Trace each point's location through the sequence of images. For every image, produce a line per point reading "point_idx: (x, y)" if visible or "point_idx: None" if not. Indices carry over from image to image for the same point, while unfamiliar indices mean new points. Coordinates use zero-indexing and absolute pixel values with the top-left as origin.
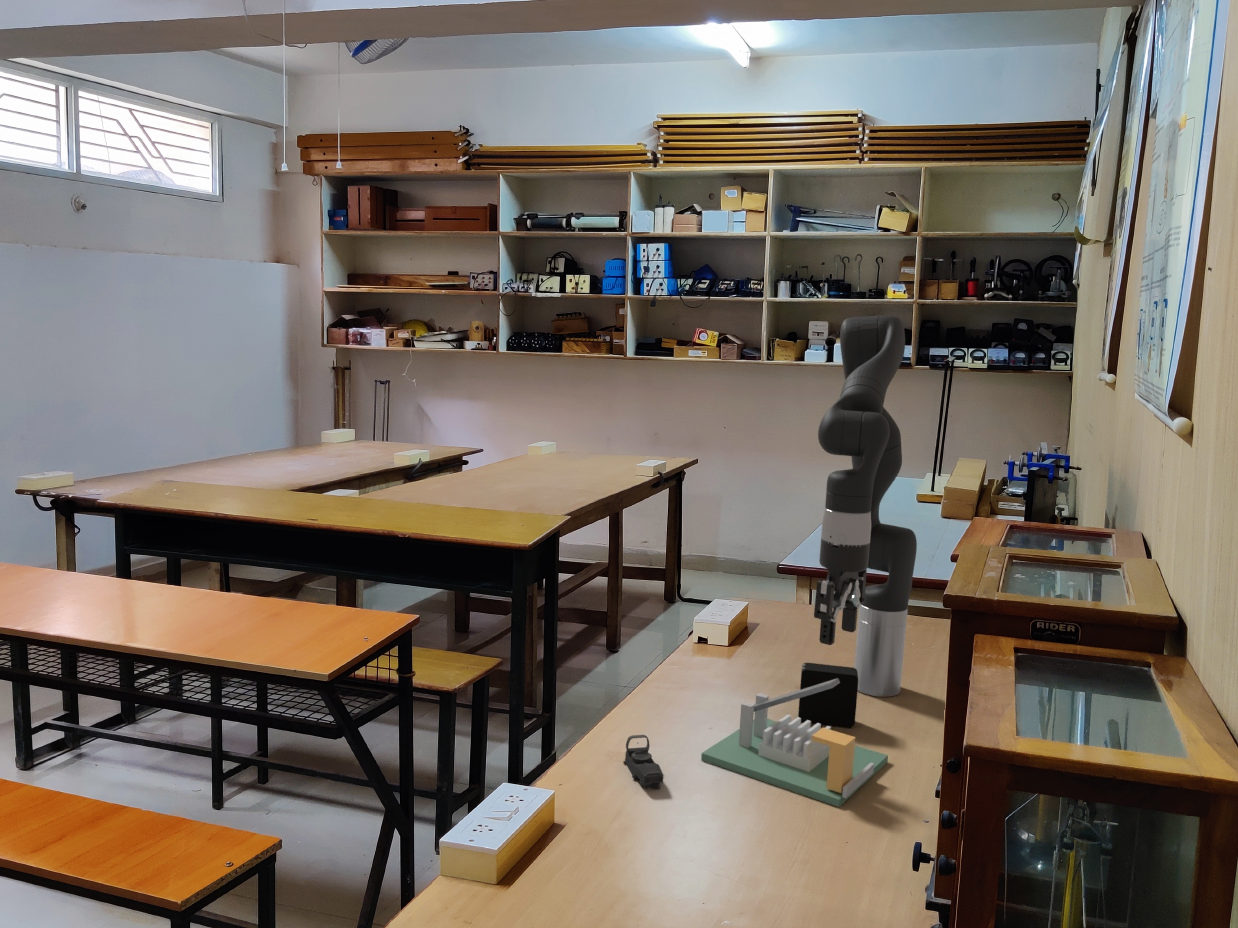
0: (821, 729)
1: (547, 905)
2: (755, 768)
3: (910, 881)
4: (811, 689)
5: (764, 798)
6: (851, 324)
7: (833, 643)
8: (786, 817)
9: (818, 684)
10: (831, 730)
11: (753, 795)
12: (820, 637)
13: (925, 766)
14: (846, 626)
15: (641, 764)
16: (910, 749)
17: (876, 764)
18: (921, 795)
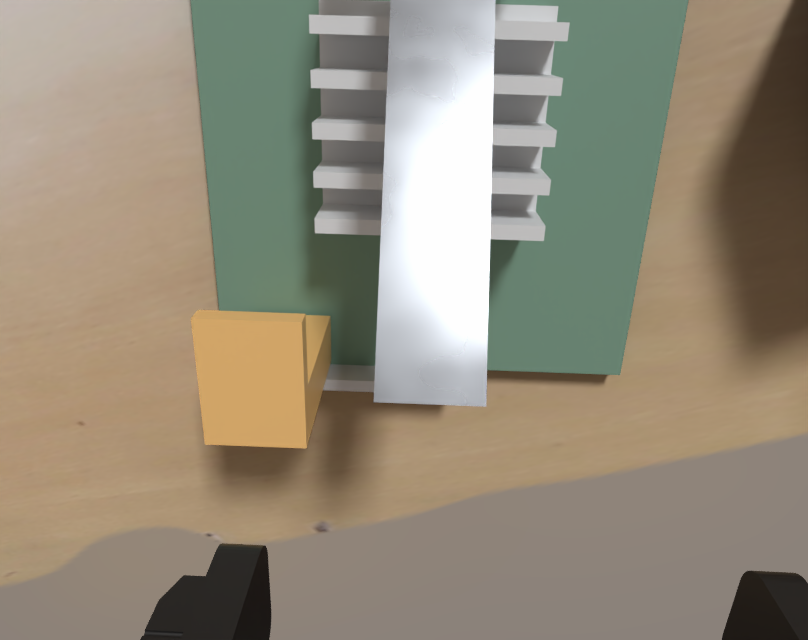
0: (277, 326)
1: None
2: (216, 49)
3: (47, 564)
4: (380, 268)
5: (108, 154)
6: None
7: (267, 634)
8: (62, 258)
9: (476, 273)
10: (298, 360)
11: (96, 115)
12: (157, 603)
13: (645, 453)
14: (759, 633)
15: None
16: (752, 390)
17: (527, 367)
18: (451, 489)
